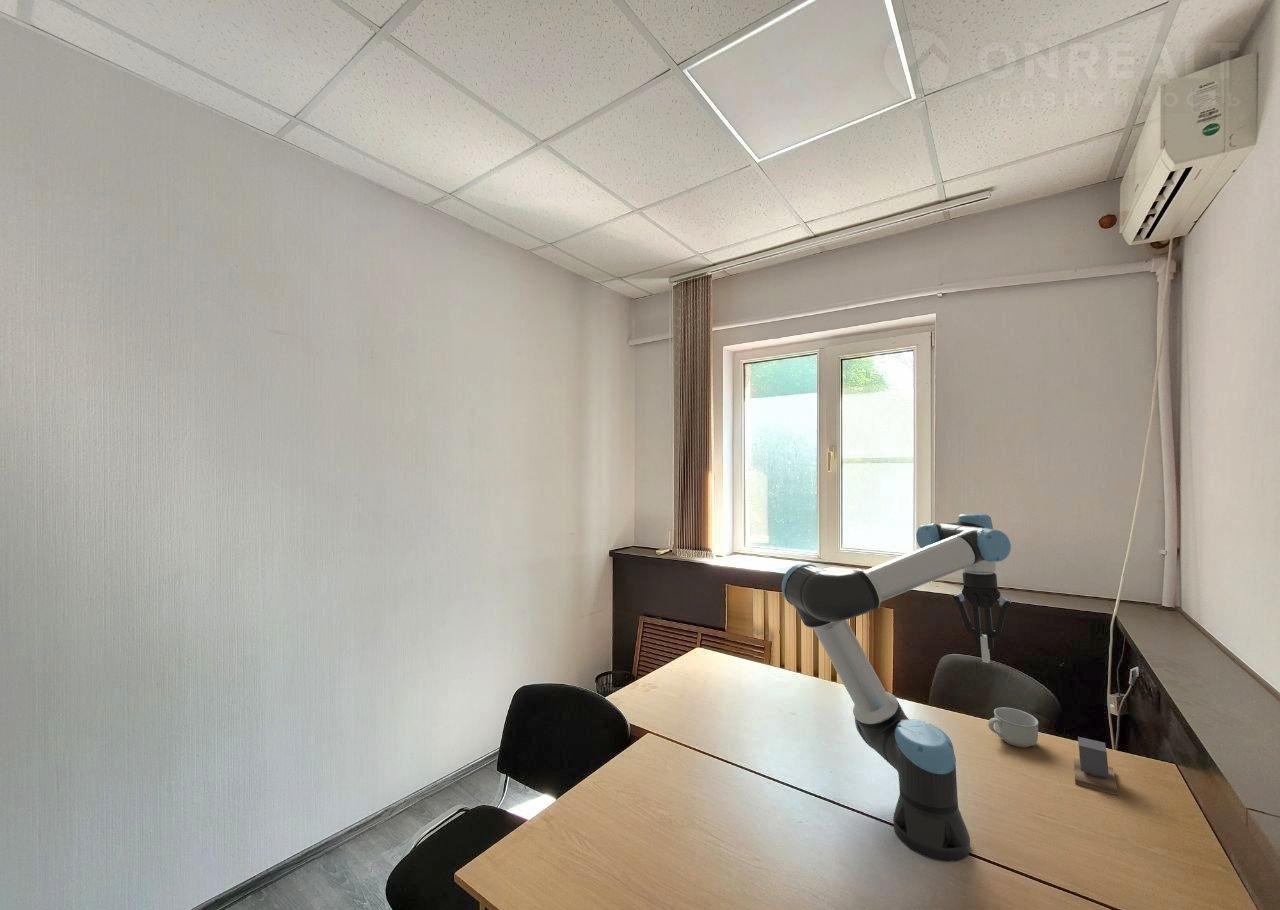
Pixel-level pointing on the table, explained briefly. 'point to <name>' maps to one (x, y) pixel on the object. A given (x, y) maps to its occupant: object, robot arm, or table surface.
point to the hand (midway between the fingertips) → (986, 660)
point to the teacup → (1015, 726)
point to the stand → (1095, 779)
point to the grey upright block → (1093, 757)
